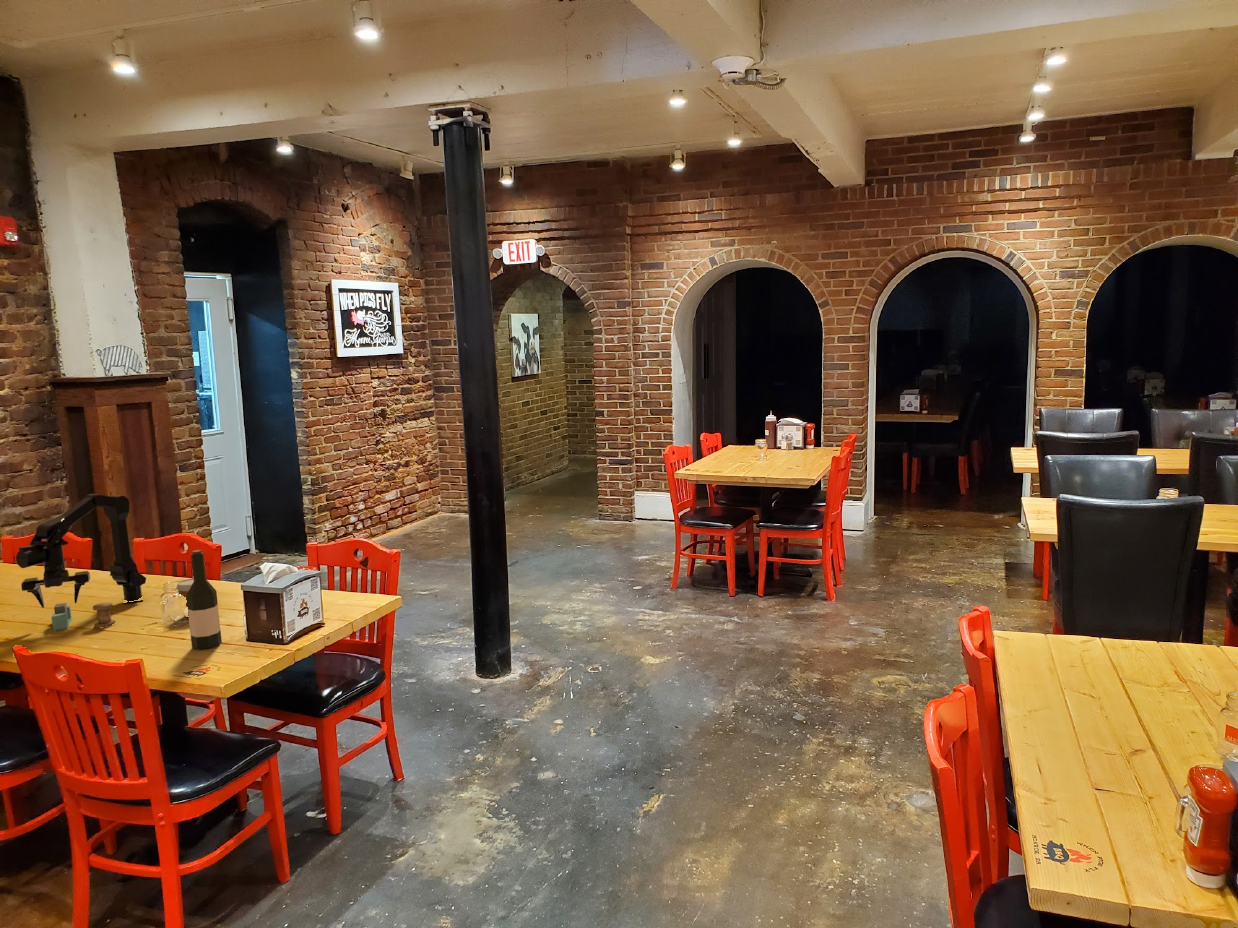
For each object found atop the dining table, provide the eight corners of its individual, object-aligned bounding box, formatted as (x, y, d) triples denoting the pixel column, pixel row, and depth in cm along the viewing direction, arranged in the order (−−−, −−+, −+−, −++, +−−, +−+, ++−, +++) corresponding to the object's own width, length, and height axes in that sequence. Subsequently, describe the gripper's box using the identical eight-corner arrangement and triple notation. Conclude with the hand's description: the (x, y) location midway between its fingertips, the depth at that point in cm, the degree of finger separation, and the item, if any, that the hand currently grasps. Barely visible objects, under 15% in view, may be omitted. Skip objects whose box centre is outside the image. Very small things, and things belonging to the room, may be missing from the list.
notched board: (58, 620, 286) (56, 606, 285) (71, 618, 288) (70, 604, 287) (53, 630, 276) (51, 616, 275) (67, 628, 277) (65, 614, 277)
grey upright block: (58, 621, 283) (55, 604, 282) (68, 619, 284) (66, 602, 283) (56, 624, 279) (53, 607, 278) (66, 623, 280) (64, 605, 280)
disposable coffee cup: (215, 613, 289) (212, 579, 287) (188, 621, 281) (185, 586, 279) (200, 609, 294) (197, 576, 292) (174, 616, 286) (170, 583, 284)
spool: (95, 624, 281) (93, 604, 280) (116, 620, 284) (113, 601, 283) (93, 629, 276) (91, 608, 275) (114, 625, 278) (112, 605, 277)
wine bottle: (209, 650, 252) (199, 554, 248) (185, 649, 254) (175, 554, 250) (227, 641, 260) (218, 547, 256) (204, 639, 262) (194, 547, 258)
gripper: (15, 570, 267) (22, 616, 269) (83, 561, 275) (89, 606, 278) (21, 562, 277) (27, 607, 279) (87, 554, 285) (93, 598, 288)
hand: (59, 605), depth 281 cm, fingers open, 9 cm apart
